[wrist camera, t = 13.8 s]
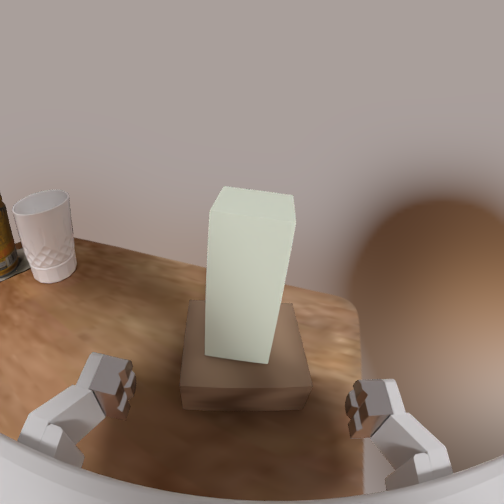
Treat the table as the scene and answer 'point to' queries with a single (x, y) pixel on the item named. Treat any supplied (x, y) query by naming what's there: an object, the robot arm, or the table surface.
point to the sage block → (246, 271)
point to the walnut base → (244, 370)
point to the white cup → (47, 234)
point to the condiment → (9, 249)
